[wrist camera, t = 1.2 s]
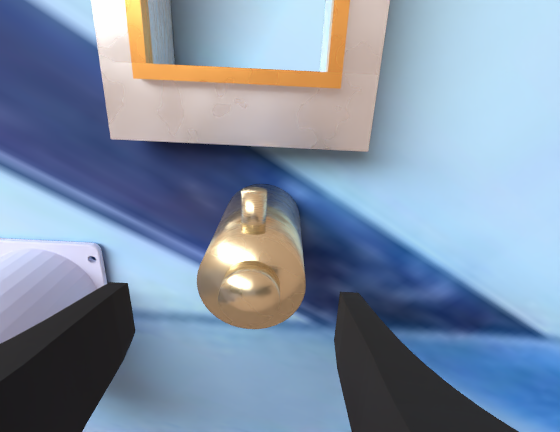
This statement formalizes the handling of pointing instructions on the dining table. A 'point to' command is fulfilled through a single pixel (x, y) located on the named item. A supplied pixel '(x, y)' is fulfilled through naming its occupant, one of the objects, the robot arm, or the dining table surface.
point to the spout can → (255, 260)
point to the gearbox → (239, 83)
